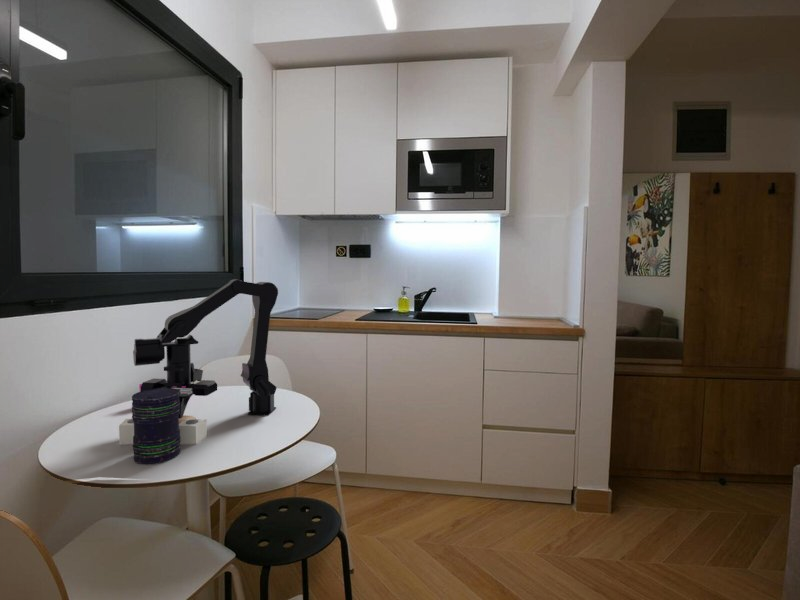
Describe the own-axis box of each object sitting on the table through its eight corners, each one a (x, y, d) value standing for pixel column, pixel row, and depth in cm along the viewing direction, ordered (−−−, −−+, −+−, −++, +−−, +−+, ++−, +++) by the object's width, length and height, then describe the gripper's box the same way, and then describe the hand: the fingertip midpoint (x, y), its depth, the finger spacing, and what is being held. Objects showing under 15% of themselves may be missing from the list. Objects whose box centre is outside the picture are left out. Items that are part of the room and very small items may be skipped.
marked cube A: (206, 438, 112) (206, 418, 111) (196, 445, 107) (195, 425, 106) (188, 437, 112) (188, 417, 112) (177, 444, 107) (176, 424, 107)
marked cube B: (148, 435, 113) (147, 416, 112) (142, 443, 108) (141, 422, 107) (126, 437, 111) (126, 417, 111) (119, 445, 106) (118, 424, 106)
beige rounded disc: (200, 426, 120) (200, 415, 120) (189, 437, 112) (190, 426, 112) (170, 425, 119) (170, 415, 119) (157, 437, 111) (158, 425, 111)
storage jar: (147, 447, 105) (145, 387, 104) (188, 446, 106) (186, 387, 105) (123, 465, 95) (121, 400, 94) (169, 464, 96) (167, 399, 95)
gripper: (226, 356, 122) (227, 409, 123) (164, 354, 123) (165, 407, 124) (206, 364, 111) (207, 423, 112) (138, 362, 112) (139, 420, 113)
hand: (179, 417), depth 116 cm, fingers closed
